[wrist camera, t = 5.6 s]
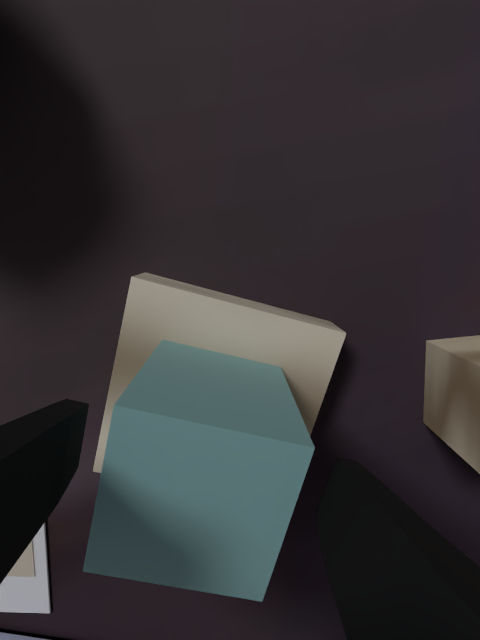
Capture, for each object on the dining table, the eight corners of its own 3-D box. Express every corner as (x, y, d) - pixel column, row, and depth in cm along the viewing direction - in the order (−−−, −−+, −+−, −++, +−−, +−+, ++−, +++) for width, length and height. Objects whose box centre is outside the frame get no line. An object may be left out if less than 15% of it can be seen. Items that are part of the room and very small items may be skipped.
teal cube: (250, 468, 13) (262, 601, 8) (139, 445, 13) (82, 571, 8) (280, 366, 12) (314, 448, 7) (162, 339, 12) (113, 405, 7)
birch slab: (275, 470, 16) (283, 510, 13) (114, 435, 15) (92, 471, 13) (326, 318, 14) (346, 333, 12) (149, 271, 14) (131, 276, 11)
